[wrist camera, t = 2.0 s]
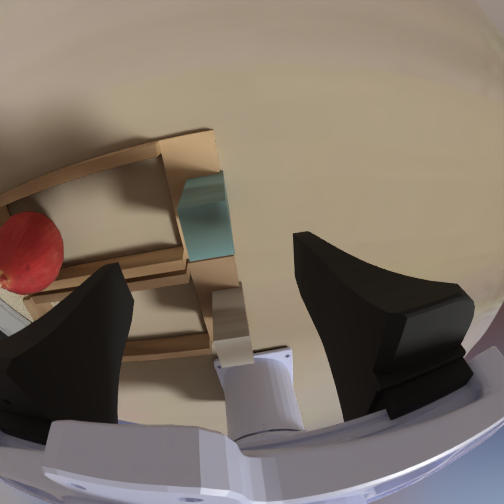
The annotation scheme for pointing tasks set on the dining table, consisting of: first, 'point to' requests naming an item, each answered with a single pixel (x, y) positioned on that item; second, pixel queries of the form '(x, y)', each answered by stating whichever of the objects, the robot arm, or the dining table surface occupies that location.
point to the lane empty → (211, 303)
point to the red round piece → (29, 253)
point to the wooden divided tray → (183, 199)
